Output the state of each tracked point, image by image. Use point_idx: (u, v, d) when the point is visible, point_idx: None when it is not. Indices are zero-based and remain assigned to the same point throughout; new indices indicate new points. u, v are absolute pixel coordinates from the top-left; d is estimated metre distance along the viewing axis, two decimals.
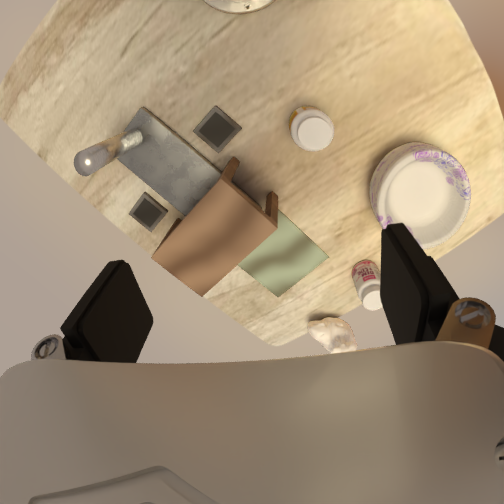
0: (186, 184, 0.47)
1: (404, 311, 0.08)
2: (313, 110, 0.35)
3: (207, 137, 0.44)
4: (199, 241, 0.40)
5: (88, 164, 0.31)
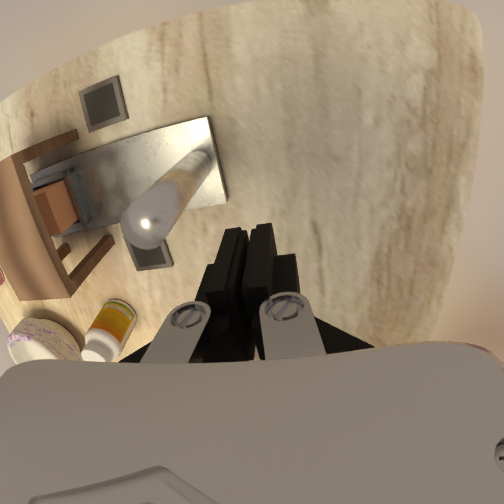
0: (105, 185, 0.32)
1: None
2: (118, 356, 0.38)
3: None
4: (15, 230, 0.24)
5: (136, 233, 0.18)
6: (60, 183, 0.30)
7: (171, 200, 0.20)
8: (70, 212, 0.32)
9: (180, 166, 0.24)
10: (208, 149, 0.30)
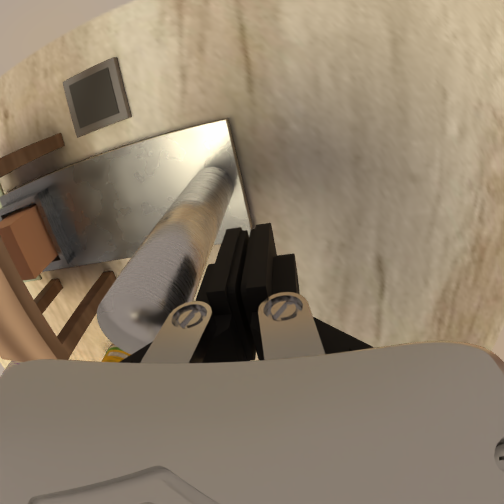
0: (88, 212, 0.24)
1: None
2: None
3: None
4: None
5: (126, 336, 0.10)
6: (31, 211, 0.22)
7: (183, 274, 0.11)
8: (46, 248, 0.23)
9: (192, 198, 0.16)
10: (228, 166, 0.21)
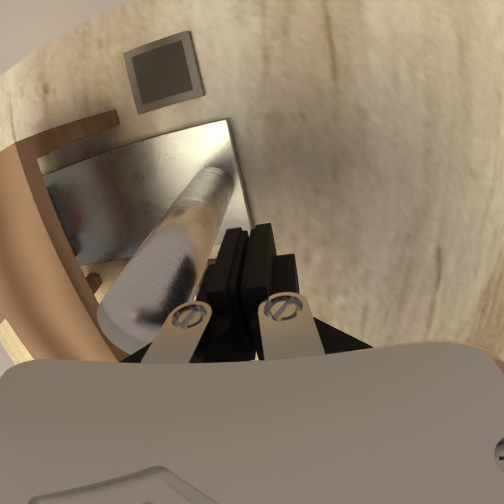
0: (88, 212, 0.24)
1: None
2: None
3: None
4: (25, 271, 0.15)
5: (126, 336, 0.10)
6: None
7: (183, 274, 0.11)
8: None
9: (192, 198, 0.16)
10: (228, 166, 0.21)
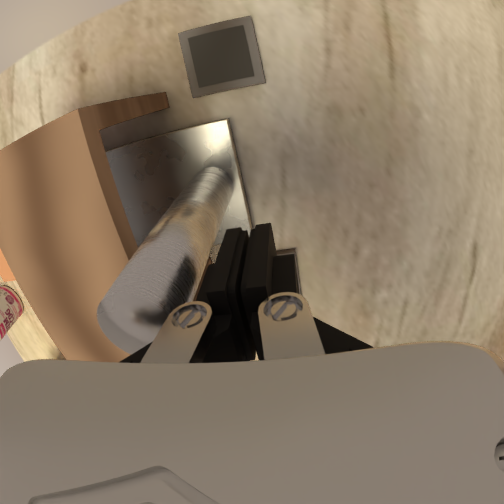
0: None
1: None
2: None
3: None
4: (73, 262, 0.14)
5: (126, 335, 0.10)
6: None
7: (183, 274, 0.11)
8: None
9: (192, 198, 0.16)
10: (228, 166, 0.21)
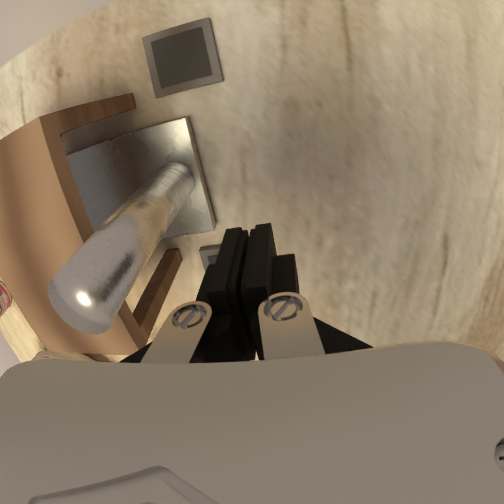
0: None
1: None
2: None
3: None
4: (41, 252, 0.15)
5: (72, 312, 0.11)
6: None
7: (120, 259, 0.12)
8: None
9: (145, 192, 0.17)
10: (188, 162, 0.22)
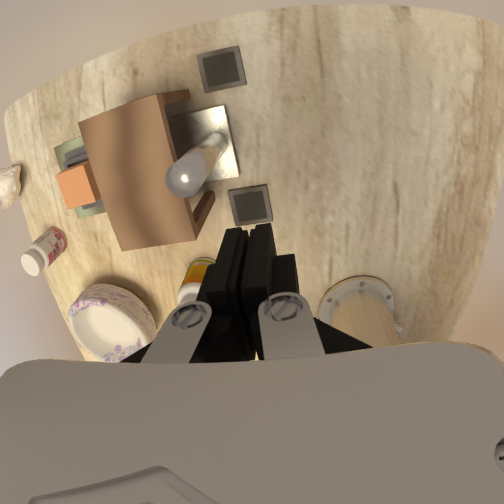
0: None
1: None
2: None
3: (249, 194, 0.40)
4: (142, 171, 0.29)
5: (177, 185, 0.25)
6: None
7: (203, 162, 0.26)
8: None
9: (205, 142, 0.31)
10: (224, 132, 0.36)
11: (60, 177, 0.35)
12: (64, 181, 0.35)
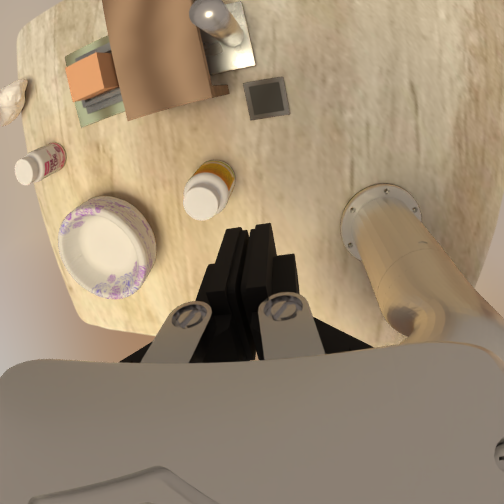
0: None
1: None
2: (223, 208, 0.37)
3: (266, 84, 0.35)
4: (161, 30, 0.24)
5: (201, 16, 0.20)
6: (107, 54, 0.31)
7: None
8: (112, 78, 0.33)
9: None
10: (241, 24, 0.31)
11: (70, 68, 0.30)
12: (74, 72, 0.30)
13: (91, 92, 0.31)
